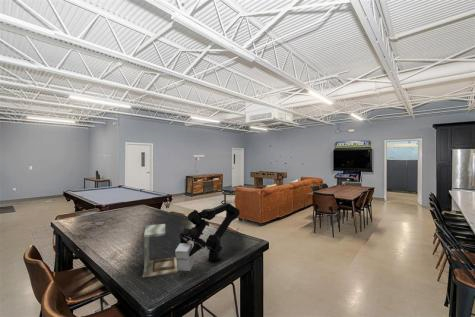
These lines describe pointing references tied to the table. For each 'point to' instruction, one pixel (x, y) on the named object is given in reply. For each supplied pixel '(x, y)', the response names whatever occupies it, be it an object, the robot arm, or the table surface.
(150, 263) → the awning stand
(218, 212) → the robot arm
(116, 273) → the table surface
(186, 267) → the supplement box
